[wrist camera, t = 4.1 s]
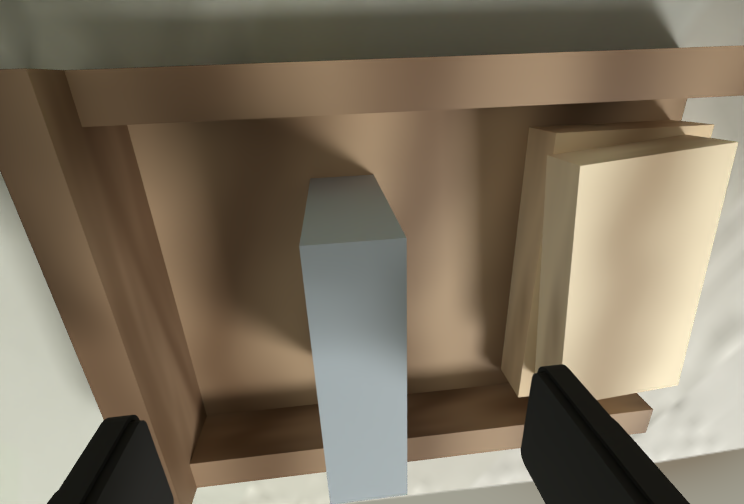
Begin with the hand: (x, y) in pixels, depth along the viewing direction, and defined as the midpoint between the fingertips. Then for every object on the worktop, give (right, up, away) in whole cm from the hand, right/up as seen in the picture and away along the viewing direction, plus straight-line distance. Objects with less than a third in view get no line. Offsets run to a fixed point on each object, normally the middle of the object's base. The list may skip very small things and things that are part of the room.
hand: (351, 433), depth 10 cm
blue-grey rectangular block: (0, +3, +8) cm, 8 cm away
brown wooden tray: (+1, +4, +9) cm, 9 cm away
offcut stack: (+10, +4, +9) cm, 14 cm away
